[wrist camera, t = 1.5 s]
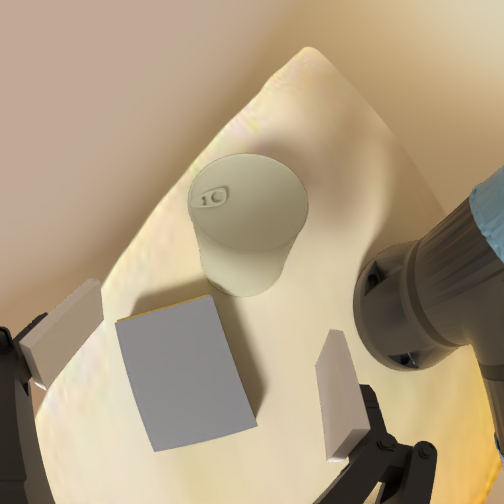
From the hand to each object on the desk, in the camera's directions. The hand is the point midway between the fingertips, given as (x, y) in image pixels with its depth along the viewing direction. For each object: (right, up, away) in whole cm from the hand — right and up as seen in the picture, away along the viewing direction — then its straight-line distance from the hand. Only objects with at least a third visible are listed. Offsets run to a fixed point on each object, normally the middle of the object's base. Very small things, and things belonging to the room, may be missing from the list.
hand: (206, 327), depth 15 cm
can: (+1, +4, +17) cm, 17 cm away
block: (-4, -8, +11) cm, 15 cm away
